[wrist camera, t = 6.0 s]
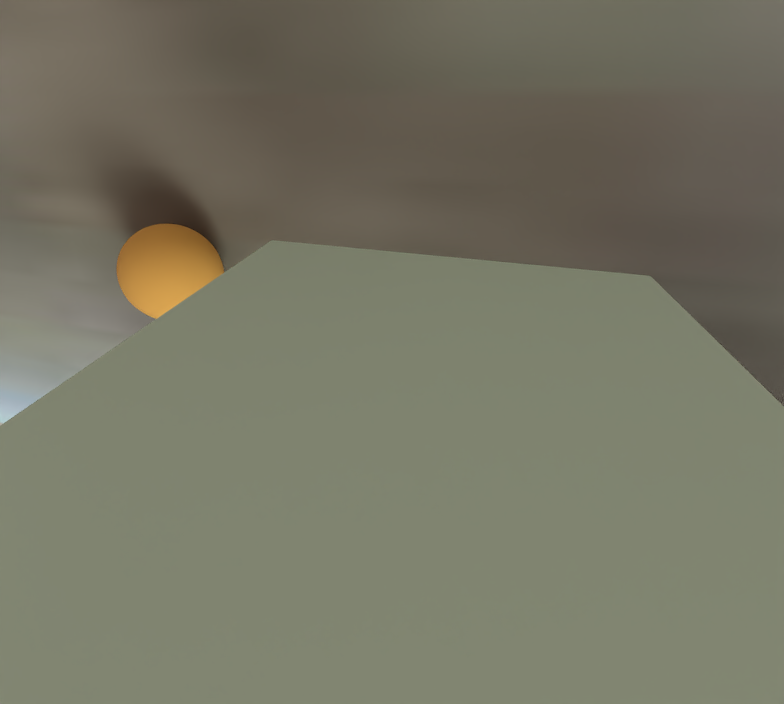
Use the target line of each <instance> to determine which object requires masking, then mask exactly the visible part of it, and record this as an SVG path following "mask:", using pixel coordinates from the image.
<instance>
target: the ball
mask: <svg viewBox="0 0 784 704" xmlns="http://www.w3.org/2000/svg"><path fill="white" fill-rule="evenodd" d="M223 273H224V269H223V264H222V261H221V258H220V256H219V254H218V252H217V251H216V249H215V248H214V247H213V245H212V244H211V243H210V242H209V241H208V240H207V239H206V238H205V237H204V236H202V235H201V234H199V233H198V232H196V231H194V230H192V229H190V228H187V227H185V226H181V225H177V224H156V225H152V226H148V227H146V228H143V229H141V230H140V231H138V232H136V233H135V234H134V235H132V236H131V237H130V238H129V239H128V240H127V241H126V243H125V244H124V245H123V247H122V249H121V251H120V254H119V256H118V261H117V277H118V281H119V284H120V287H121V289H122V291H123V293H124V295H125V296H126V298H127V299H128V300H129V301H130V302H131V304H132V305H134V306H135V307H136V308H137V309H138V310H140V311H141V312H143V313H145V314H146V315H148V316H150V317H153V318H156V319H157V318H159V317H160V316H162V315H163V314H164V313H166V312H167V311H169V310H170V309H172V308H173V307H175V306H176V305H178V304H179V303H181V302H182V301H184V300H185V299H186V298H188V297H189V296H191V295H192V294H194V293H195V292H197V291H198V290H200V289H201V288H203V287H204V286H205V285H207V284H208V283H210V282H211V281H213V280H214V279H216V278H217V277H219V276H220V275H222V274H223Z"/></svg>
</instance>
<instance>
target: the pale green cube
mask: <svg viewBox="0 0 784 704" xmlns="http://www.w3.org/2000/svg"><path fill="white" fill-rule="evenodd" d="M0 704H784V406H783V405H782V404H781V403H780V402H779V401H778V400H777V399H776V398H775V397H774V396H773V395H772V394H771V393H770V392H769V391H767V390H766V389H765V388H764V387H763V386H762V385H761V384H760V383H759V382H758V381H757V380H756V379H755V378H754V377H753V376H752V375H751V374H750V373H749V372H748V371H747V370H746V369H745V368H744V367H743V366H742V365H741V364H740V363H739V362H738V361H737V360H736V359H735V358H734V357H733V356H732V355H731V354H730V353H729V352H728V351H727V350H726V349H725V348H724V347H723V346H722V345H720V344H719V343H718V342H717V341H716V340H715V339H714V338H713V337H712V336H711V335H710V334H709V333H708V332H707V331H706V330H705V329H704V328H703V327H702V326H701V325H700V324H699V323H698V322H697V321H696V320H695V319H694V318H693V317H692V316H691V315H690V314H689V313H688V312H687V311H686V310H685V309H684V308H683V307H682V306H681V305H680V304H679V303H678V302H677V301H676V300H675V299H674V298H672V297H671V296H670V295H669V294H668V293H667V292H666V291H665V290H664V289H663V288H662V287H661V286H660V285H659V284H658V283H657V282H656V281H655V280H654V279H653V278H652V277H651V276H648V275H637V274H626V273H616V272H605V271H594V270H584V269H573V268H562V267H552V266H541V265H530V264H520V263H509V262H498V261H488V260H477V259H466V258H456V257H445V256H434V255H424V254H413V253H402V252H392V251H381V250H370V249H360V248H349V247H338V246H328V245H317V244H307V243H296V242H285V241H275V240H271V241H270V242H268V243H267V244H265V245H264V246H262V247H261V248H260V249H258V250H257V251H255V252H254V253H252V254H251V255H249V256H248V257H246V258H245V259H243V260H242V261H241V262H239V263H238V264H236V265H235V266H233V267H232V268H230V269H229V270H227V271H226V272H224V273H223V274H222V275H220V276H219V277H217V278H216V279H214V280H213V281H211V282H210V283H208V284H207V285H205V286H204V287H203V288H201V289H200V290H198V291H197V292H195V293H194V294H192V295H191V296H189V297H188V298H186V299H185V300H184V301H182V302H181V303H179V304H178V305H176V306H175V307H173V308H172V309H170V310H169V311H167V312H166V313H164V314H163V315H162V316H160V317H159V318H157V319H156V320H154V321H153V322H151V323H150V324H148V325H147V326H145V327H144V328H143V329H141V330H140V331H138V332H137V333H135V334H134V335H132V336H131V337H129V338H128V339H126V340H125V341H124V342H122V343H121V344H119V345H118V346H116V347H115V348H113V349H112V350H110V351H109V352H107V353H106V354H105V355H103V356H102V357H100V358H99V359H97V360H96V361H94V362H93V363H91V364H90V365H88V366H87V367H86V368H84V369H83V370H81V371H80V372H78V373H77V374H75V375H74V376H72V377H71V378H69V379H68V380H67V381H65V382H64V383H62V384H61V385H59V386H58V387H56V388H55V389H53V390H52V391H50V392H49V393H47V394H46V395H45V396H43V397H42V398H40V399H39V400H37V401H36V402H34V403H33V404H31V405H30V406H28V407H27V408H26V409H24V410H23V411H21V412H20V413H18V414H17V415H15V416H14V417H12V418H11V419H9V420H8V421H7V422H5V423H4V424H2V425H1V426H0Z"/></svg>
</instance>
